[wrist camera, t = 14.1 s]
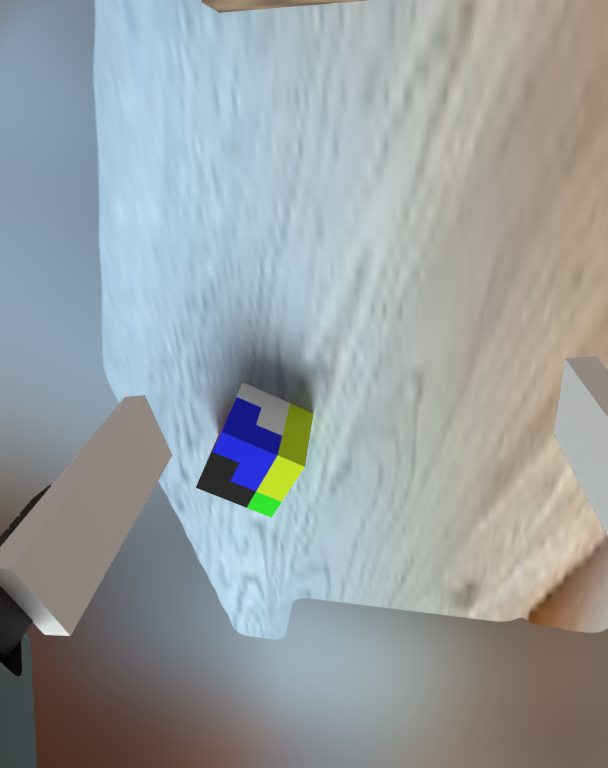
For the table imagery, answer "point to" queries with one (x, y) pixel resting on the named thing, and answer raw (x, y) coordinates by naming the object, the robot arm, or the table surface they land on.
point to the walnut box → (263, 4)
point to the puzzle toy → (258, 451)
